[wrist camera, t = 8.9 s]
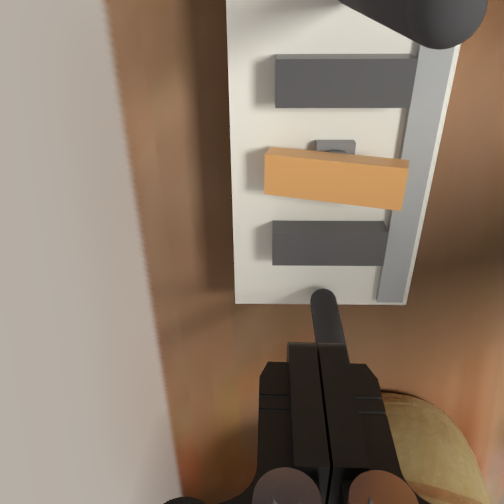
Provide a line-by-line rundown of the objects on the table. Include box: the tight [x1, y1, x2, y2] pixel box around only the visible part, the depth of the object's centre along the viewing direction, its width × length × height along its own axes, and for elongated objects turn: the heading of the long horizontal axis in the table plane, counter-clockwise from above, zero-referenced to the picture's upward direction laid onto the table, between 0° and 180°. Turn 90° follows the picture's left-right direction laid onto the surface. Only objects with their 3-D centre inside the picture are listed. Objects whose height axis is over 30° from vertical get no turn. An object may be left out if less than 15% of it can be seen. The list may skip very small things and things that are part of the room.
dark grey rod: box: [310, 288, 350, 364], centre depth 24 cm, size 2×2×14 cm
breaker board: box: [226, 0, 461, 305], centre depth 26 cm, size 19×11×4 cm, turn 0°
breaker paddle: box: [264, 147, 409, 211], centre depth 24 cm, size 2×7×2 cm, turn 90°
